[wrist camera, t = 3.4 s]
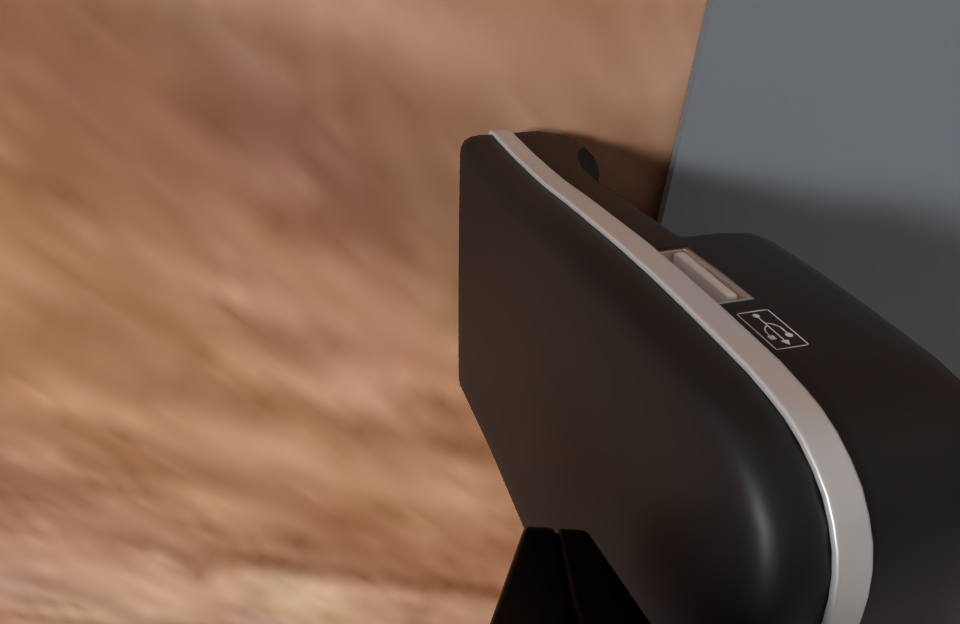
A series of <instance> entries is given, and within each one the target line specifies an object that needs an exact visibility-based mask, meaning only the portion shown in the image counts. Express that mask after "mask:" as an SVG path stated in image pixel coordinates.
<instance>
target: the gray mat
mask: <svg viewBox="0 0 960 624" xmlns="http://www.w3.org/2000/svg"><path fill="white" fill-rule="evenodd" d="M657 222H658V223H660V224H661V225H662V226H664V227H665V228H667V229H668V230H669V231H671V232H672V233H674V234H677V235H679V236H682V237H690V236H698V235H707V234H716V233H751V234H754V235H757V236H760V237H762V238H765V239H768V240H770V241H772V242H774V243H775V244H777V245H778V246H780V247H782V248H783V249H785V250H786V251H788V252H789V253H791V254H792V255H794V256H795V257H797V258H798V259H800V260H802V261H803V262H805V263H806V264H808V265H809V266H811V267H812V268H814V269H815V270H817V271H819V272H820V273H821V274H823V275H824V276H826V277H827V278H829V279H830V280H831V281H833V282H834V283H836V284H837V285H838V286H840V287H841V288H843V289H844V290H846V291H847V292H848V293H850V294H851V295H853V296H854V297H855V298H857V299H858V300H860V301H861V302H862V303H864V304H865V305H866V306H868V307H869V308H870V309H872V310H873V311H875V312H876V313H877V314H879V315H880V316H881V317H883V318H884V319H885V320H887V321H888V322H890V323H891V324H892V325H894V326H895V327H896V328H898V329H899V330H900V331H902V332H903V333H904V334H905V335H907V336H908V337H909V338H911V339H912V340H913V341H915V342H916V343H917V344H919V345H920V346H921V347H923V348H924V349H925V350H927V351H928V352H929V353H931V354H932V355H933V356H934V357H936V358H937V359H938V360H939V361H940V362H941V363H942V364H943V365H944V366H945V367H946V368H948V369H949V370H950V371H951V372H952V373H953V374H954V375H955V376H956V377H957V378H958V379H959V380H960V0H708V1H707V6H706V10H705V14H704V19H703V23H702V27H701V32H700V36H699V40H698V45H697V49H696V53H695V58H694V62H693V66H692V70H691V75H690V79H689V83H688V88H687V92H686V96H685V101H684V105H683V109H682V114H681V118H680V122H679V127H678V131H677V135H676V139H675V144H674V148H673V152H672V157H671V161H670V165H669V170H668V174H667V178H666V183H665V187H664V191H663V196H662V200H661V204H660V209H659V213H658V217H657Z"/></svg>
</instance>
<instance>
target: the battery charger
mask: <svg viewBox="0 0 960 624" xmlns="http://www.w3.org/2000/svg"><path fill="white" fill-rule="evenodd" d="M459 381H460V386H461V388H462V390H463V392H464V394H465V396H466V398H467V400H468V402H469V404H470V407H471V409H472V411H473V413H474V415H475V417H476V419H477V422H478V424H479V426H480V428H481V430H482V432H483V434H484V437H485V439H486V441H487V443H488V445H489V448H490V450H491V452H492V454H493V456H494V459H495V461H496V463H497V466H498V468H499V470H500V473H501V475H502V477H503V480H504V482H505V484H506V487H507V489H508V492H509V494H510V496H511V499H512V501H513V503H514V506H515V508H516V510H517V513H518V515H519V517H520V520H521V522H522V524H523V526H524V529H525V527H528V526H532V527H547V528H552V529H553V530H554V531H555V532H556V530H558V529H561V528H563V529H578V530H584V531H586V532H588V533H589V535H590V536H591V537H592V539H593V540H594V542H595V543H596V545H597V546H598V548H599V549H600V550H601V552H602V553H603V555H604V556H605V558H606V559H607V561H608V562H609V564H610V565H611V566H612V568H613V569H614V571H615V572H616V574H617V575H618V577H619V578H620V580H621V581H622V582H623V584H624V585H625V587H626V588H627V590H628V591H629V593H630V594H631V596H632V597H633V598H634V600H635V601H636V603H637V604H638V606H639V607H640V609H641V610H642V612H643V613H644V614H645V616H646V617H647V619H648V620H649V622H650V623H651V624H960V380H959V379H958V378H957V377H956V376H955V375H954V374H953V373H952V372H951V371H950V370H949V369H948V368H946V367H945V366H944V365H943V364H942V363H941V362H940V361H939V360H938V359H937V358H936V357H934V356H933V355H932V354H931V353H929V352H928V351H927V350H925V349H924V348H923V347H921V346H920V345H919V344H917V343H916V342H915V341H913V340H912V339H911V338H909V337H908V336H907V335H905V334H904V333H903V332H902V331H900V330H899V329H898V328H896V327H895V326H894V325H892V324H891V323H890V322H888V321H887V320H885V319H884V318H883V317H881V316H880V315H879V314H877V313H876V312H875V311H873V310H872V309H870V308H869V307H868V306H866V305H865V304H864V303H862V302H861V301H860V300H858V299H857V298H855V297H854V296H853V295H851V294H850V293H848V292H847V291H846V290H844V289H843V288H841V287H840V286H838V285H837V284H836V283H834V282H833V281H831V280H830V279H829V278H827V277H826V276H824V275H823V274H821V273H820V272H819V271H817V270H815V269H814V268H812V267H811V266H809V265H808V264H806V263H805V262H803V261H802V260H800V259H798V258H797V257H795V256H794V255H792V254H791V253H789V252H788V251H786V250H785V249H783V248H782V247H780V246H778V245H777V244H775V243H774V242H772V241H770V240H768V239H765V238H762V237H760V236H757V235H754V234H751V233H716V234H707V235H698V236H690V237H682V236H679V235H677V234H674V233H672V232H671V231H669V230H668V229H667V228H665V227H664V226H662V225H661V224H660V223H658V222H657V221H655V220H654V219H652V218H651V217H649V216H648V215H646V214H645V213H644V212H642V211H641V210H639V209H638V208H637V207H635V206H634V205H632V204H631V203H629V202H628V201H626V200H625V199H623V198H622V197H620V196H619V195H617V194H616V193H614V192H613V191H611V190H610V189H608V188H606V187H605V186H603V185H602V184H600V183H599V182H598V168H597V163H596V161H595V160H594V158H593V156H592V155H591V154H590V153H589V152H588V150H587V149H586V148H585V147H583V146H582V145H581V144H579V143H578V142H576V141H573V140H571V139H569V138H566V137H563V136H560V135H556V134H548V133H542V132H537V131H535V132H520V133H513V132H512V131H511V130H508V129H502V130H490V131H489V133H488V135H478V136H473V137H470V138H468V139H467V140H465V141H464V143H463V144H462V146H461V152H460V197H459Z"/></svg>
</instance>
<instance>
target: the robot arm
mask: <svg viewBox="0 0 960 624" xmlns="http://www.w3.org/2000/svg"><path fill="white" fill-rule="evenodd" d="M490 624H651V623H650V622H649V620H648V619H647V617H646V616H645V614H644V613H643V612H642V610H641V609H640V607H639V606H638V604H637V603H636V601H635V600H634V598H633V597H632V596H631V594H630V593H629V591H628V590H627V588H626V587H625V585H624V584H623V582H622V581H621V580H620V578H619V577H618V575H617V574H616V572H615V571H614V569H613V568H612V566H611V565H610V564H609V562H608V561H607V559H606V558H605V556H604V555H603V553H602V552H601V550H600V549H599V548H598V546H597V545H596V543H595V542H594V540H593V539H592V537H591V536H590V535H589V533H588V532H586V531H584V530H578V529H563V528H561V529H558V530H556V532H555V531H554V530H553V529H552V528H547V527H532V526H528V527H525V529H524V530H523V532H522V535H521V538H520V541H519V544H518V546H517V549H516V552H515V555H514V558H513V561H512V563H511V566H510V569H509V572H508V575H507V578H506V580H505V583H504V586H503V589H502V592H501V595H500V597H499V600H498V603H497V606H496V609H495V612H494V614H493V617H492V620H491V623H490Z"/></svg>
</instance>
